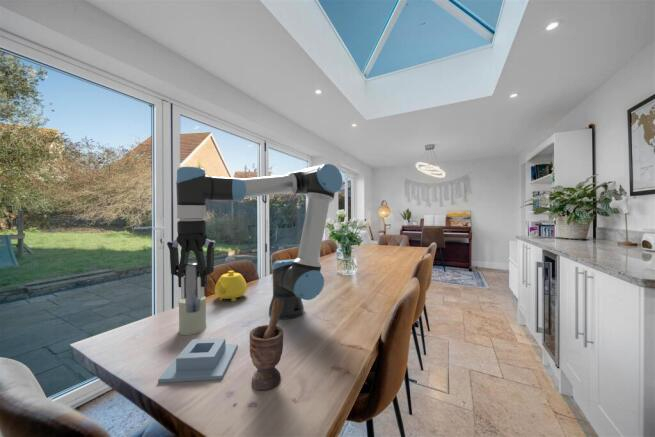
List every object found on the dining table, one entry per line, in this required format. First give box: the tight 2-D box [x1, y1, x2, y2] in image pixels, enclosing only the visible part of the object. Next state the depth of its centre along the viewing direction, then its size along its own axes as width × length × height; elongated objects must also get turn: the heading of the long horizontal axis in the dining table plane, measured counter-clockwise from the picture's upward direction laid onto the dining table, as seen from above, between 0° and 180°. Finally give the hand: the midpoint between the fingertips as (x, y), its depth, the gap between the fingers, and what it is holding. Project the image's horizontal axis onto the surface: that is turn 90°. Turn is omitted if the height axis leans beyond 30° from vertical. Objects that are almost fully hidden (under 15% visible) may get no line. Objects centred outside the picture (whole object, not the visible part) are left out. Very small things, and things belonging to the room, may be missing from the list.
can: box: [178, 295, 207, 336], centre depth 94 cm, size 9×9×12 cm
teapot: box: [214, 270, 248, 302], centre depth 127 cm, size 20×16×14 cm
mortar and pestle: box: [249, 298, 284, 391], centre depth 67 cm, size 12×9×20 cm
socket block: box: [157, 337, 239, 384], centre depth 74 cm, size 16×16×4 cm
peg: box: [185, 262, 201, 313], centre depth 76 cm, size 4×4×14 cm
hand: (193, 297), depth 76 cm, fingers closed on peg, 4 cm apart
